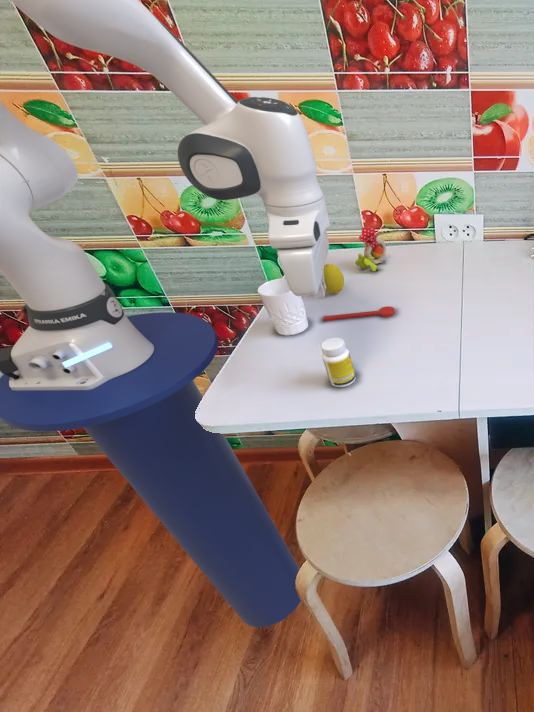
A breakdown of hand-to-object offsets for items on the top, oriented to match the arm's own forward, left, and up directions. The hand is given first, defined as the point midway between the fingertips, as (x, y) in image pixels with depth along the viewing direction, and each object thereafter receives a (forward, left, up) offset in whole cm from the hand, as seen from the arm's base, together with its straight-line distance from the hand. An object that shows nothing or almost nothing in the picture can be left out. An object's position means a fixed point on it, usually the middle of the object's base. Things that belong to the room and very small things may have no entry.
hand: (320, 294), depth 83 cm
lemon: (-4, +30, -15) cm, 34 cm away
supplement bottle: (+1, -6, -15) cm, 17 cm away
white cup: (-12, +16, -15) cm, 25 cm away
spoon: (+3, +18, -15) cm, 24 cm away
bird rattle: (+5, +44, -15) cm, 47 cm away
